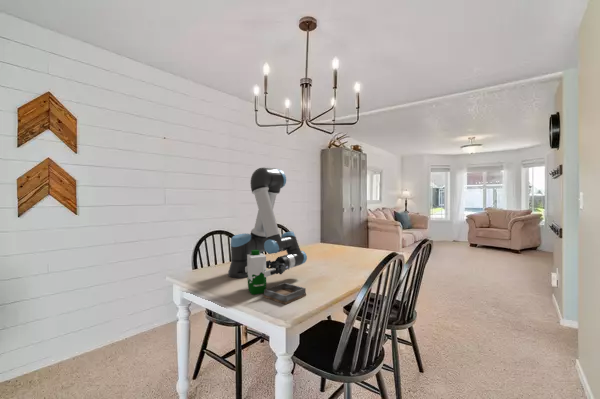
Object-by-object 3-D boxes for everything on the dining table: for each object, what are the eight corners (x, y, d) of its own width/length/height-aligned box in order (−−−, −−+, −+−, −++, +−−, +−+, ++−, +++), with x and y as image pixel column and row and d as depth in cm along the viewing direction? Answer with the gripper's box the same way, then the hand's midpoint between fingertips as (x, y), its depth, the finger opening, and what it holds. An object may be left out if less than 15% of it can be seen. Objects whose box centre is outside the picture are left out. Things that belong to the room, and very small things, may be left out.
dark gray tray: (263, 297, 137) (263, 289, 137) (284, 289, 147) (284, 282, 147) (285, 304, 128) (285, 296, 128) (306, 295, 138) (306, 288, 138)
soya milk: (263, 287, 150) (262, 248, 150) (268, 293, 142) (268, 252, 141) (246, 290, 147) (245, 250, 146) (250, 296, 138) (250, 253, 138)
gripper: (302, 273, 151) (273, 284, 134) (268, 265, 167) (238, 275, 150) (302, 259, 150) (273, 268, 134) (268, 252, 166) (238, 260, 150)
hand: (254, 271), depth 142 cm, fingers open, 13 cm apart
